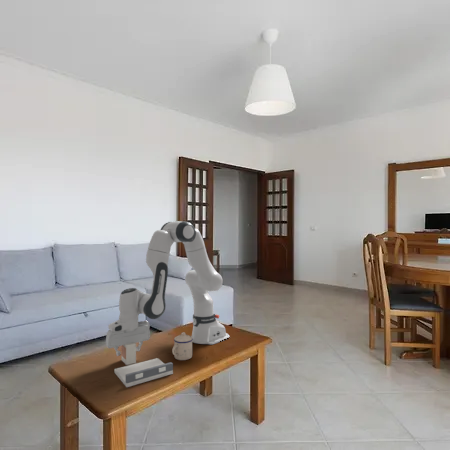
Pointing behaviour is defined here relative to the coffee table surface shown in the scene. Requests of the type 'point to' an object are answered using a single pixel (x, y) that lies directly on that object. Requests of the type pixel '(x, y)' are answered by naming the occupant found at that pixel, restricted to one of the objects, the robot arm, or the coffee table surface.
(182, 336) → the teacup with lid
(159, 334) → the coffee table surface
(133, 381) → the shelf board
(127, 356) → the product carton
